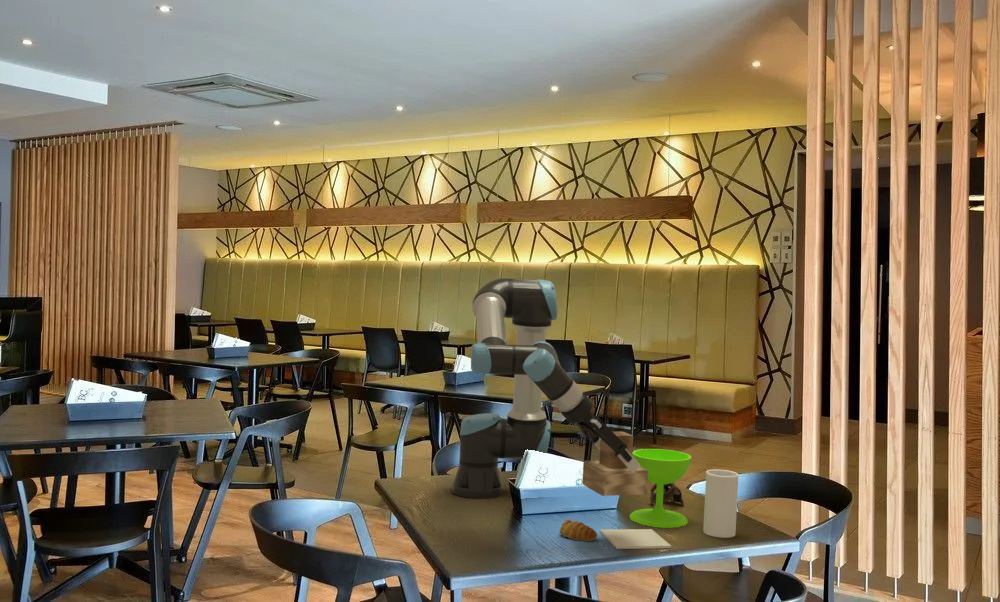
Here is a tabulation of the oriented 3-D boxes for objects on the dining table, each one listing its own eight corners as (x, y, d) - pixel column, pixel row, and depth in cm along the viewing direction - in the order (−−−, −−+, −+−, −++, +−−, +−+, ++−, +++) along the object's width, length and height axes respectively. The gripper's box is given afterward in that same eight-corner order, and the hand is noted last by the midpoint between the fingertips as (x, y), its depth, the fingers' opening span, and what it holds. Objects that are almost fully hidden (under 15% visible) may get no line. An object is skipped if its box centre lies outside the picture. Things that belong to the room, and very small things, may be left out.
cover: (602, 495, 213) (605, 438, 213) (582, 484, 225) (585, 429, 224) (646, 494, 217) (649, 437, 217) (624, 483, 228) (627, 429, 228)
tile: (616, 548, 215) (616, 546, 215) (600, 531, 229) (600, 529, 229) (671, 548, 217) (671, 545, 217) (651, 531, 231) (651, 529, 231)
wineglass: (617, 514, 246) (620, 450, 246) (663, 509, 254) (666, 447, 253) (653, 530, 232) (656, 462, 232) (700, 524, 240) (703, 458, 239)
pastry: (602, 538, 223) (602, 524, 223) (589, 545, 218) (589, 529, 218) (570, 531, 229) (570, 516, 229) (556, 537, 223) (557, 522, 223)
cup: (737, 531, 235) (740, 471, 234) (733, 539, 227) (736, 477, 226) (705, 526, 238) (708, 468, 237) (700, 534, 230) (703, 473, 230)
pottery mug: (690, 510, 256) (681, 488, 253) (660, 524, 256) (651, 501, 253) (677, 490, 267) (668, 468, 265) (648, 503, 267) (639, 481, 265)
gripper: (543, 405, 227) (594, 463, 232) (581, 421, 204) (636, 485, 209) (563, 385, 229) (613, 443, 234) (603, 398, 206) (658, 463, 211)
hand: (624, 463), depth 221 cm, fingers closed on cover, 12 cm apart
